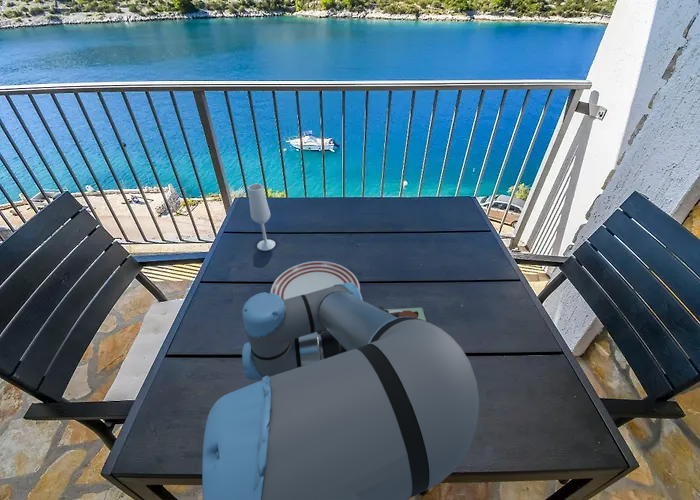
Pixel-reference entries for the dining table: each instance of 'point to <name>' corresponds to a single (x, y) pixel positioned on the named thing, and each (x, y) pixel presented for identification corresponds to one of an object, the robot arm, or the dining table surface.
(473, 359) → the dining table surface
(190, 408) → the dining table surface
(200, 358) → the dining table surface
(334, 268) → the dinner plate
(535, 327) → the dining table surface
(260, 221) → the champagne flute
